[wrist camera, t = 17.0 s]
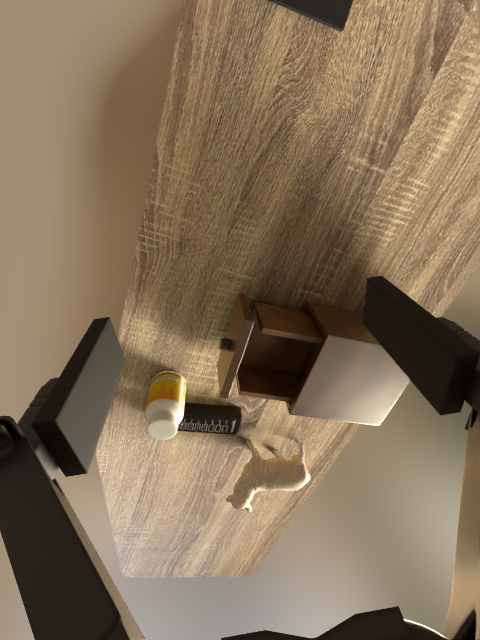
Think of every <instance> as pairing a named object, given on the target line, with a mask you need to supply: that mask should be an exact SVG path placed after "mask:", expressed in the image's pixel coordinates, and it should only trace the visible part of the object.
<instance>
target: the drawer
mask: <svg viewBox="0 0 480 640" xmlns="http://www.w3.org/2000/svg"><path fill="white" fill-rule="evenodd" d="M323 338H324V336H323V334H322V333H321V331H320V329H319V328H318V326H317V324H316V323H315V321H314V319H313V318H312V316H311V314H310V313H306V312H301V311H296V310H291V309H287V308H282V307H277V306H272V305H267V304H262V303H258V302H255V303H254V306H253V309H252V311H251V307H250V304H249V300H248V297H247V294H242V293H238V297H237V300H236V303H235V307H234V310H233V313H232V317H231V320H230V323H229V327H228V330H227V333H226V337H225V338H221V339H220V343H219V349H221V353H220V356H219V360H218V363H217V367H218V382H219V397H220V398H227V399H228V397H229V394H230V391H231V388H232V385H233V382H234V380H235V377H236V379H237V386H238V394H239V395H242V396H250V397H257V398H264V399H272V400H279V401H287V402H293V400H294V398H295V396H296V394H297V392H298V390H299V388H300V386H301V384H302V381H303V379H304V377H305V375H306V373H307V371H308V369H309V367H310V365H311V363H312V361H313V358H314V356H315V354H316V352H317V350H318V348H319V346H320V344H321V342H322V340H323Z"/></svg>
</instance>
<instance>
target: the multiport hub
mask: <svg viewBox="0 0 480 640" xmlns="http://www.w3.org/2000/svg"><path fill="white" fill-rule="evenodd" d="M241 421H242V413H241V408H240V407H230V406H218V405H206V404H194V403H185V404H184V415H183V419H182V421H181V422H180V423H179V424H178V428H177V431H186V432H201V433H216V434H230V435H236V434H238V431H239V428H240V425H241Z"/></svg>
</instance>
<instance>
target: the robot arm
mask: <svg viewBox="0 0 480 640" xmlns="http://www.w3.org/2000/svg"><path fill="white" fill-rule="evenodd" d="M363 325H364V326H365V327H366V328H367V330H368V331H369V332H370V333H371V334H372V335H373V337H374V338H375V339H376V340H377V341H378V343H379V344H380V345H381V346H382V347H383V348H384V350H385V351H386V352H387V353H388V354H389V355H390V357H391V358H392V359H393V360H394V361H395V363H396V364H397V365H398V366H399V367H400V368H401V370H402V371H403V372H404V373H405V374H406V375H407V377H408V378H409V379H410V380H411V381H412V383H413V384H414V385H415V386H416V387H417V388H418V390H420V392H421V393H422V394H423V395H424V397H425V398H426V399H427V400H428V401H429V403H430V404H431V405H432V406H433V407H434V408H435V410H436V411H437V412H438V413H439V414H440V415H445V414H452V413H458V412H461V409H462V406H463V403H464V400H465V401H466V402H467V403H468V404H469V405H470V406H471V407H472V410H471V413H470V415H469V418H468V421H467V424H466V426H465V429H466V430H468V437H467V447H466V457H465V467H464V475H463V485H462V496H461V505H460V515H459V524H458V534H457V543H456V554H455V563H454V573H453V583H452V592H451V601H450V606H449V610H448V614H447V618H446V621H445V626H444V632H443V635H441V634H439V633H438V632H436V631H434V630H432V629H430V628H428V627H425V626H423V625H421V624H418V623H415V622H412V621H409V620H404V619H403V616H402V614H401V611H400V609H399V607H392V608H387V609H381V610H375V611H370V612H364V613H359V614H355V615H353V616H352V617H350V618H349V619H347V620H345V621H343V622H342V623H340V624H338V625H337V626H335V627H334V628H332V629H330V630H329V631H327V632H325V633H324V634H322V635H320V636H319V637H317V638H305V637H300V636H294V635H289V634H283V633H277V632H272V631H266V630H264V631H259V632H253V633H247V634H242V635H236V636H231V637H225V638H221V640H480V341H479V340H478V339H476V338H475V337H472V335H471V334H470V333H468V332H467V331H464V329H463V328H462V327H460V326H458V325H457V324H456V323H455V322H452V321H450V320H447V319H445V318H443V317H440V318H435V317H434V316H433V315H431V314H430V313H429V312H428V311H426V310H425V309H424V308H422V307H421V306H420V305H419V304H417V303H416V302H415V301H413V300H412V299H411V298H410V297H408V296H407V295H406V294H405V293H403V292H402V291H401V290H399V289H398V288H397V287H396V286H394V285H393V284H392V283H390V282H389V281H388V280H387V279H385V278H384V277H383V276H377V277H370V278H367V284H366V295H365V305H364V315H363ZM125 362H126V359H125V356H124V354H123V351H122V349H121V346H120V343H119V341H118V338H117V336H116V333H115V330H114V328H113V325H112V323H111V320H110V318H109V317H107V318H100V319H94V320H93V322H92V324H91V325H90V327H89V328H88V330H87V332H86V333H85V335H84V337H83V338H82V340H81V342H80V344H79V345H78V347H77V348H76V350H75V352H74V353H73V355H72V357H71V358H70V360H69V362H68V363H67V365H66V367H65V369H64V370H63V372H62V374H61V375H60V377H59V378H54V379H51V380H49V381H48V382H47V383H46V384H45V385H44V386H42V387H41V389H40V390H39V392H38V393H37V395H36V396H35V399H34V400H33V401H32V402H31V404H30V405H29V408H28V409H27V410H26V412H25V413H24V415H23V416H22V418H21V419H20V421H19V422H18V424H16V422H15V421H14V420H13V418H11V417H10V416H0V531H1V534H2V538H3V541H4V544H5V547H6V550H7V553H8V556H9V559H10V563H11V566H12V569H13V572H14V575H15V578H16V581H17V584H18V588H19V591H20V594H21V597H22V601H23V603H24V607H25V610H26V613H27V616H28V619H29V623H30V626H31V628H32V632H33V635H34V638H35V640H146V639H145V637H144V636H143V634H142V632H141V630H140V628H139V627H138V625H137V623H136V621H135V620H134V618H133V616H132V614H131V612H130V610H129V609H128V607H127V605H126V603H125V602H124V600H123V598H122V597H121V595H120V593H119V591H118V589H117V587H116V585H115V584H114V582H113V580H112V578H111V576H110V575H109V573H108V571H107V569H106V568H105V566H104V564H103V562H102V560H101V559H100V557H99V555H98V553H97V551H96V550H95V548H94V546H93V544H92V542H91V541H90V539H89V537H88V535H87V534H86V532H85V530H84V528H83V526H82V525H81V523H80V521H79V519H78V518H77V516H76V514H75V512H74V510H73V509H72V507H71V505H70V503H69V502H68V499H67V498H66V496H65V494H64V492H63V491H62V489H61V487H60V485H59V483H58V482H57V480H56V479H55V478H54V477H55V475H56V473H57V471H58V468H59V467H60V469H61V470H62V472H63V473H64V475H65V476H66V477H67V476H73V475H80V474H85V473H87V472H88V469H89V466H90V463H91V460H92V458H93V455H94V452H95V449H96V446H97V443H98V440H99V437H100V434H101V432H102V429H103V426H104V423H105V420H106V417H107V414H108V411H109V408H110V406H111V403H112V400H113V397H114V394H115V391H116V388H117V385H118V382H119V380H120V377H121V374H122V371H123V368H124V365H125Z"/></svg>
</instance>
